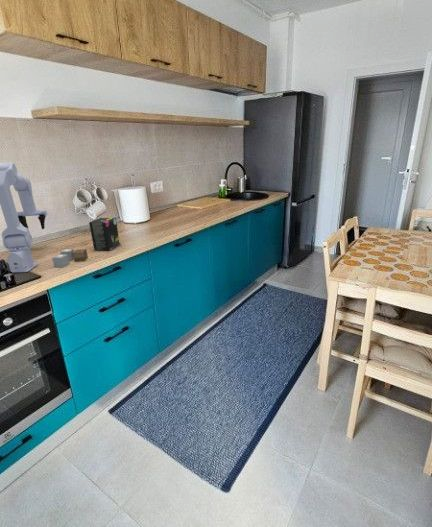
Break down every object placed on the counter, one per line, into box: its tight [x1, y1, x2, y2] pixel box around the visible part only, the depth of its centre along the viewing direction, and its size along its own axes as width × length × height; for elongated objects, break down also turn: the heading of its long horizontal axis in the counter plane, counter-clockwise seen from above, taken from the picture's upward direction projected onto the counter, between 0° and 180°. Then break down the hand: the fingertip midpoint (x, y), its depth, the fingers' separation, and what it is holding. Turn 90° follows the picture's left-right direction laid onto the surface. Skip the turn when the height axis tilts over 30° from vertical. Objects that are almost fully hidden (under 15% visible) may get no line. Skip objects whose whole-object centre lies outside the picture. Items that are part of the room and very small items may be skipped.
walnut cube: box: [73, 248, 89, 263], centre depth 143 cm, size 4×4×4 cm
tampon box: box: [88, 217, 120, 252], centre depth 158 cm, size 11×9×15 cm
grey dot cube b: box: [51, 253, 71, 269], centre depth 137 cm, size 4×4×5 cm
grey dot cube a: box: [59, 248, 75, 262], centre depth 145 cm, size 4×4×5 cm
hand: (35, 229), depth 159 cm, fingers open, 7 cm apart
